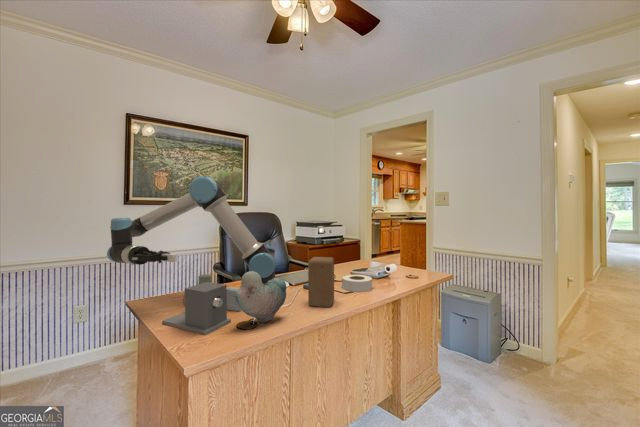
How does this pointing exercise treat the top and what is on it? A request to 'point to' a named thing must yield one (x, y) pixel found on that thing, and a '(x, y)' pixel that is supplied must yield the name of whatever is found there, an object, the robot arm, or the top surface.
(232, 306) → the medicine box
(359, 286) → the roll of tape
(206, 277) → the air freshener
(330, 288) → the wooden block
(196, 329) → the bearing block
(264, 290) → the grey rounded bird shape
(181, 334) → the top surface
